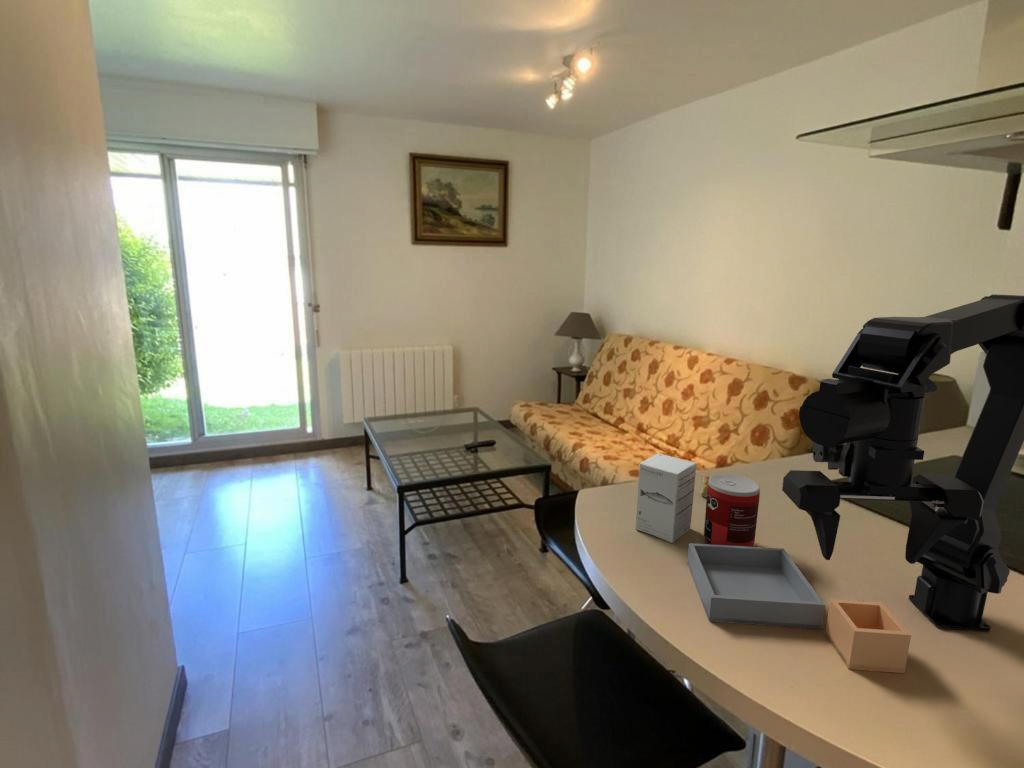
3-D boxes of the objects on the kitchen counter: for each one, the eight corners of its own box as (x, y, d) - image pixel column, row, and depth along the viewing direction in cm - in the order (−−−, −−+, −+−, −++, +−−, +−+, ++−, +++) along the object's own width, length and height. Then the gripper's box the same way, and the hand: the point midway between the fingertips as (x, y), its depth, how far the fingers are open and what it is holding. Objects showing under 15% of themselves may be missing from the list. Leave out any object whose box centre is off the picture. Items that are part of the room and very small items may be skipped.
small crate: (875, 638, 68) (881, 602, 67) (904, 673, 62) (911, 635, 61) (825, 634, 68) (830, 599, 67) (848, 668, 62) (854, 631, 61)
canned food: (712, 528, 96) (717, 470, 93) (759, 543, 91) (766, 481, 88) (695, 545, 90) (701, 483, 87) (745, 562, 85) (752, 497, 83)
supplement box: (633, 530, 95) (637, 462, 92) (654, 516, 100) (658, 451, 98) (672, 544, 90) (677, 473, 87) (692, 529, 95) (697, 461, 93)
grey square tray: (781, 569, 83) (783, 548, 82) (821, 629, 69) (825, 605, 68) (687, 563, 84) (689, 543, 84) (709, 621, 71) (711, 597, 70)
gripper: (930, 414, 67) (910, 530, 70) (772, 411, 69) (760, 524, 72) (999, 444, 56) (972, 579, 59) (809, 440, 58) (794, 570, 61)
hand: (867, 560), depth 63 cm, fingers open, 9 cm apart
